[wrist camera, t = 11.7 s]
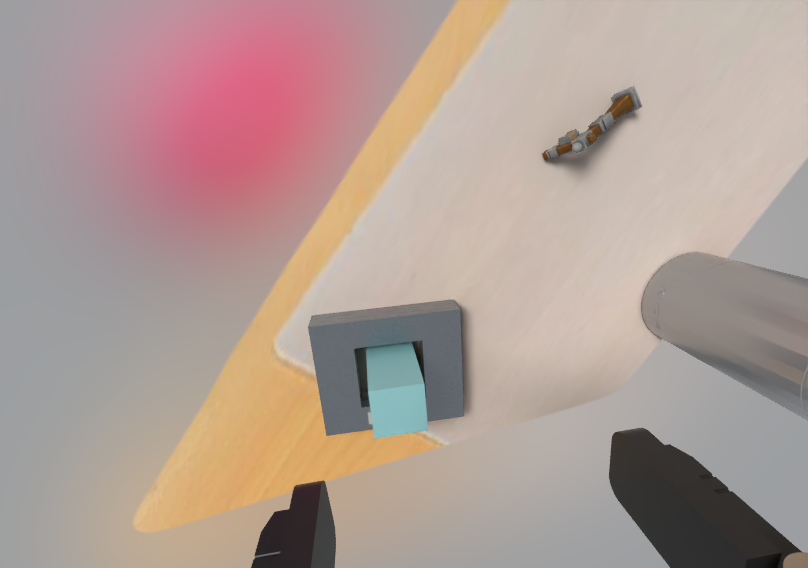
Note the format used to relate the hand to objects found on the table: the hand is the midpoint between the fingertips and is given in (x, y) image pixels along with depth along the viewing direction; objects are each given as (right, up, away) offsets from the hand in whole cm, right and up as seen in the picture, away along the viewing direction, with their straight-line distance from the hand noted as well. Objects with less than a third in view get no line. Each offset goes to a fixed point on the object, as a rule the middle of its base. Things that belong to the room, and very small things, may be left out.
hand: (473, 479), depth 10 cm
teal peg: (-3, -2, +26) cm, 26 cm away
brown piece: (+13, +18, +22) cm, 31 cm away
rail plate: (-3, -2, +25) cm, 26 cm away
